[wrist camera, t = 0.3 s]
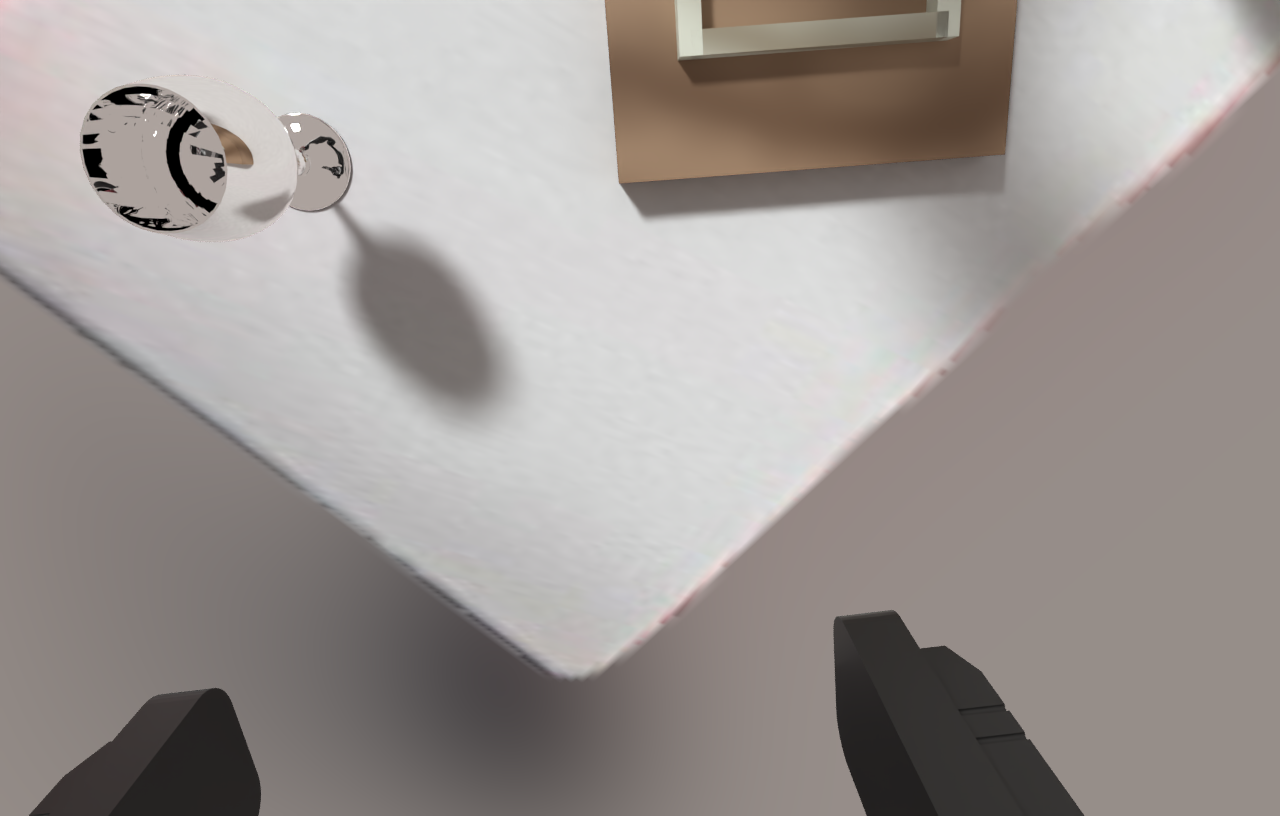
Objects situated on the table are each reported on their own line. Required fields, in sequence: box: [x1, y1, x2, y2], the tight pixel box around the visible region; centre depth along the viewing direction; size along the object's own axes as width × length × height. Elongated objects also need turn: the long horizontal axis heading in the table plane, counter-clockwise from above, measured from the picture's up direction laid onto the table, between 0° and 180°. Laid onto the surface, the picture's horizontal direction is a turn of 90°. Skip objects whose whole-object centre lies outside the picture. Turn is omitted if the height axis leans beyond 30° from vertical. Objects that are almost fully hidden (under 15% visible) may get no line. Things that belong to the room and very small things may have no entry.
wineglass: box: [80, 75, 351, 242], centre depth 30 cm, size 6×6×12 cm
